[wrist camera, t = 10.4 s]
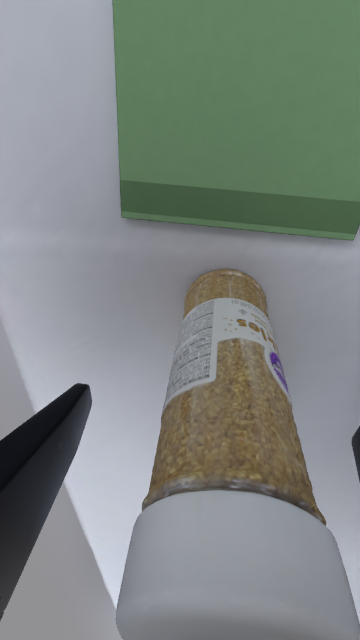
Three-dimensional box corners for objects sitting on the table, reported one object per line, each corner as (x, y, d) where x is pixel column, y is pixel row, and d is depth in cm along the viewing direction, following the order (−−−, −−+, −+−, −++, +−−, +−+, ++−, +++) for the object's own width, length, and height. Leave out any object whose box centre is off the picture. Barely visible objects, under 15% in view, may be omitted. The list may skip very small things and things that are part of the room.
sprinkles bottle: (281, 306, 16) (427, 698, 5) (219, 348, 18) (220, 695, 7) (228, 247, 15) (260, 606, 4) (166, 300, 17) (60, 636, 6)
